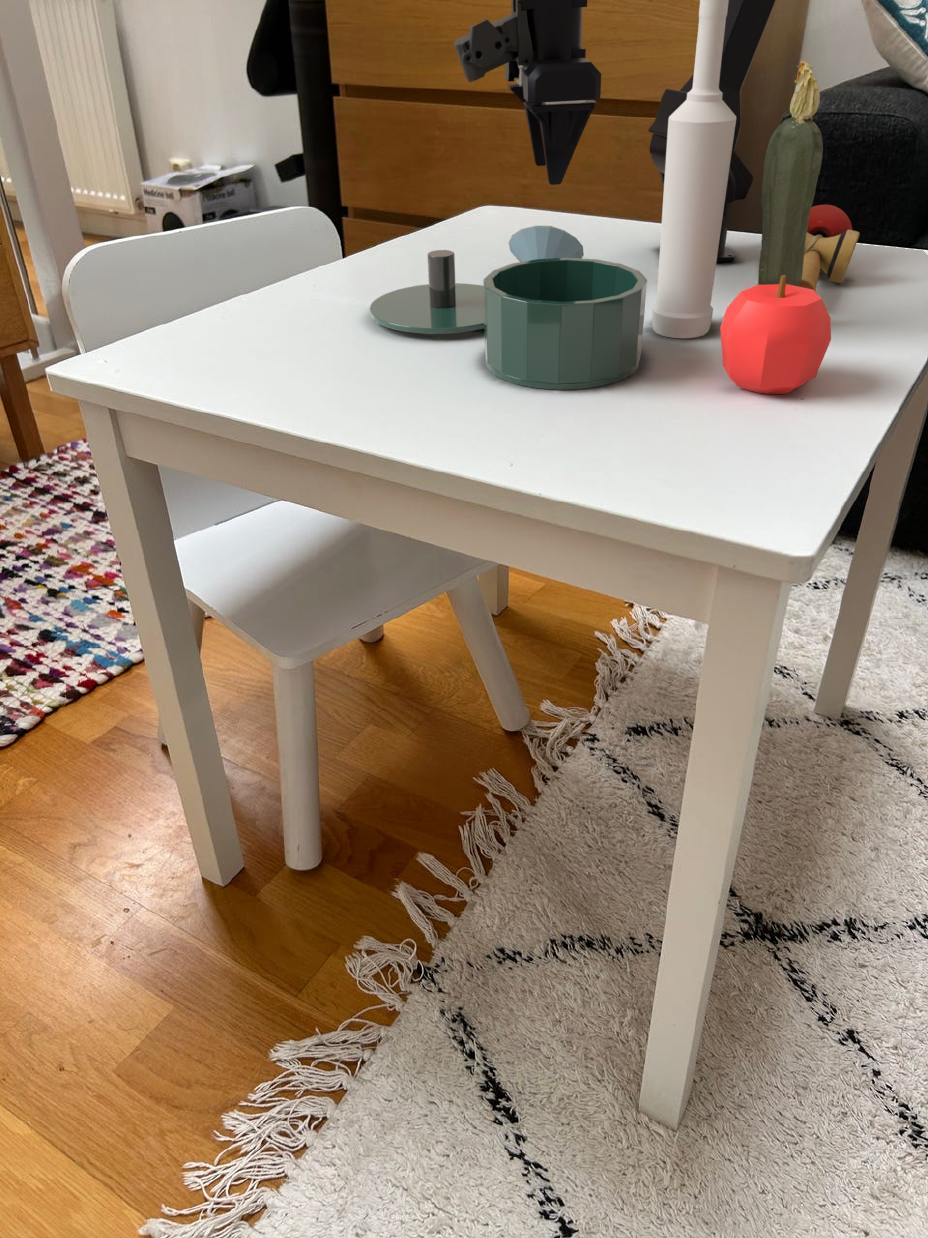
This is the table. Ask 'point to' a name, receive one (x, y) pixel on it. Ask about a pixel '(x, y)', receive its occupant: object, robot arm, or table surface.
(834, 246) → the kendama
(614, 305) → the pot
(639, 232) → the table surface
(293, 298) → the table surface
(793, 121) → the vegetable
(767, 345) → the apple
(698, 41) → the bottle
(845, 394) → the table surface
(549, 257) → the gemstone
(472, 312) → the lid
